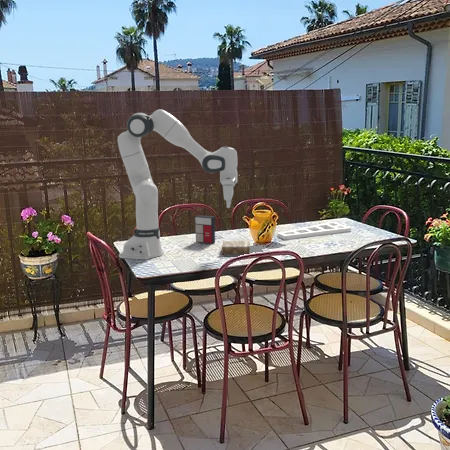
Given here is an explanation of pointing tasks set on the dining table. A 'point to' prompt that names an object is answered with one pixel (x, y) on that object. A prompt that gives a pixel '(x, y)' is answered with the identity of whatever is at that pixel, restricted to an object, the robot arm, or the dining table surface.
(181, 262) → the dining table surface
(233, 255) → the mat
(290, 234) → the holder
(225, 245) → the tall block
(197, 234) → the grey and red box
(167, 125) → the robot arm
